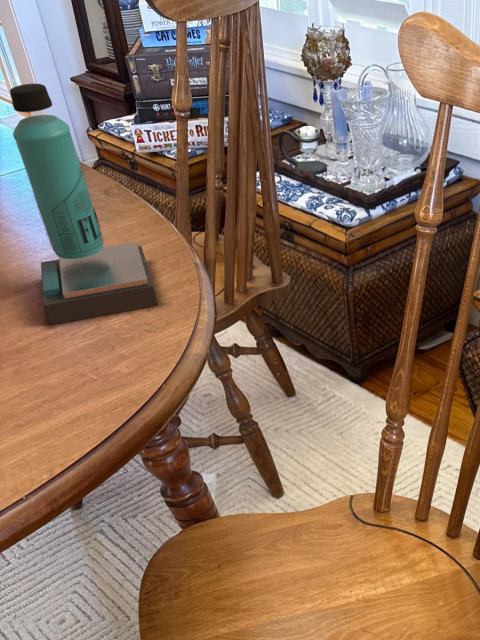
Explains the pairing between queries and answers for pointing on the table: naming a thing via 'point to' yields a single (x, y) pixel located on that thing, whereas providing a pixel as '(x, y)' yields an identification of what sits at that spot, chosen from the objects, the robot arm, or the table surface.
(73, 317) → the kitchen scale
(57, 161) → the beverage bottle
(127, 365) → the table surface
